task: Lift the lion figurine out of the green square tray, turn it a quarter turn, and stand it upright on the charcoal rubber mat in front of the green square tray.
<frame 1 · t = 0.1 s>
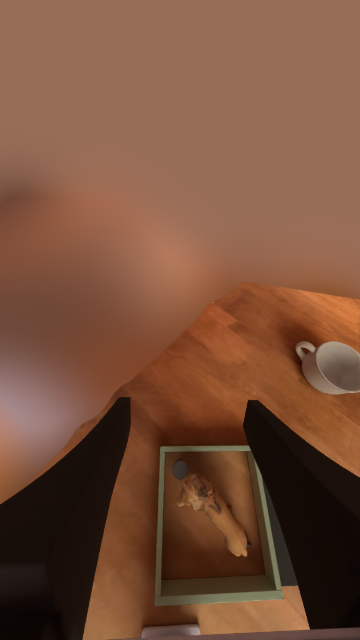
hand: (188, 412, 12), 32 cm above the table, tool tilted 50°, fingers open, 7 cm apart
mat: (290, 503, 34), on the table
green square tray: (209, 505, 33), on the table
teacup: (311, 370, 47), on the table
lion figurine: (209, 505, 33), resting in green square tray
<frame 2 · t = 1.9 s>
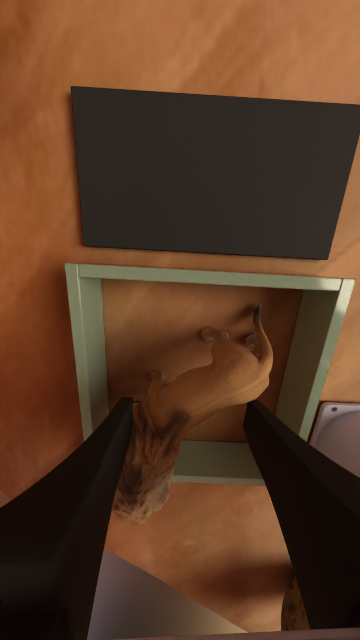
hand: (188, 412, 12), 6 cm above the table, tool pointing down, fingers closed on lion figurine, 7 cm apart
mat: (211, 184, 13), on the table
green square tray: (195, 370, 17), on the table
decorative egg: (303, 574, 26), on the table
lion figurine: (195, 368, 18), resting in green square tray, touching gripper
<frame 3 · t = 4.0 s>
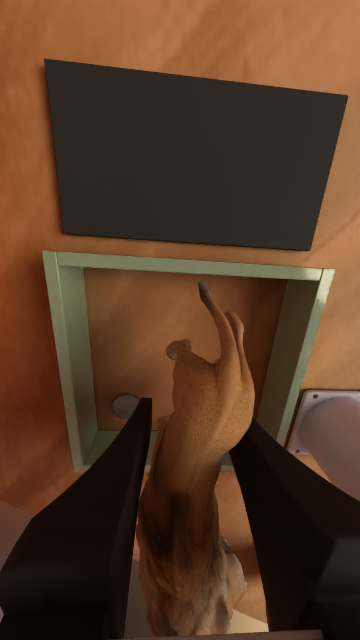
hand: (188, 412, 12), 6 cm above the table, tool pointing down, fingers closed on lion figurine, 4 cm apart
mat: (196, 172, 13), on the table
green square tray: (182, 361, 17), on the table
lion figurine: (196, 389, 14), point 4 cm above the table, touching gripper
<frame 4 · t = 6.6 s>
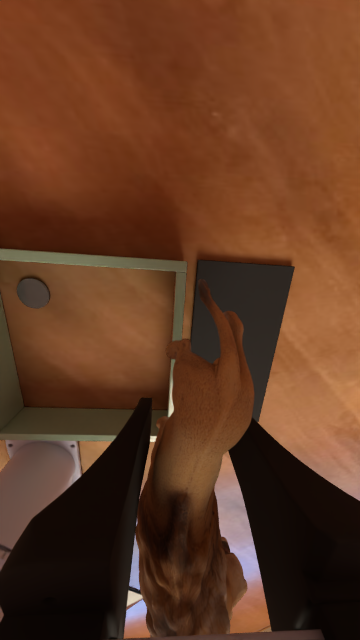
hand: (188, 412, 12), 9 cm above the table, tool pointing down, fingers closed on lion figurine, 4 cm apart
mat: (231, 350, 21), on the table
green square tray: (92, 344, 20), on the table
lion figurine: (195, 389, 14), point 7 cm above the table, touching gripper
when the fingers open (3 cm above the table, at t = 9.3 s): lion figurine stays where it is, resting on mat.
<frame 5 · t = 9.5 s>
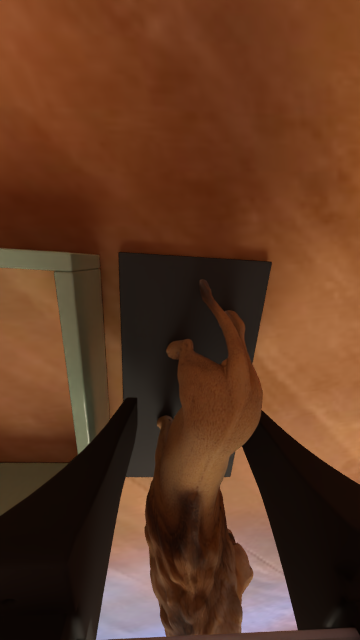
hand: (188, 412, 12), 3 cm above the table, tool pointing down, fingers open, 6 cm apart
mat: (185, 384, 14), on the table
lion figurine: (195, 387, 14), resting on mat
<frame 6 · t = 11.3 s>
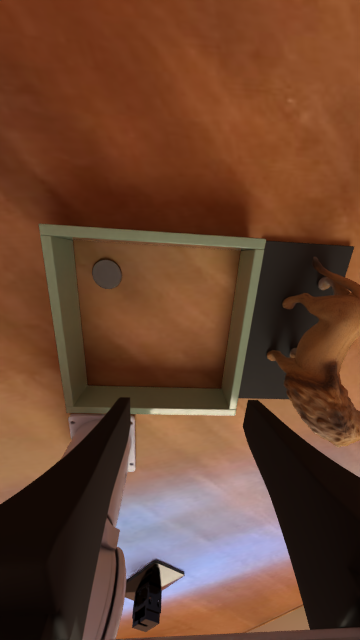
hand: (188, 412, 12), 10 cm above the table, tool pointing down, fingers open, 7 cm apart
mat: (286, 329, 22), on the table
green square tray: (157, 324, 21), on the table
lion figurine: (294, 331, 21), resting on mat
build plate: (149, 579, 36), on the table
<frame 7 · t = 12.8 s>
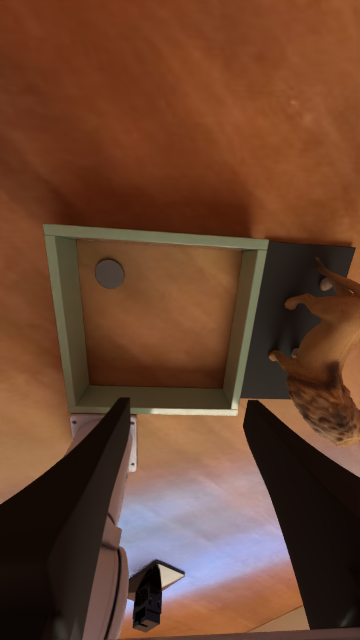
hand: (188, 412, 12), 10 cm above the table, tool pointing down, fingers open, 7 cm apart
mat: (288, 329, 22), on the table
green square tray: (159, 324, 21), on the table
lion figurine: (295, 331, 21), resting on mat
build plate: (149, 580, 36), on the table
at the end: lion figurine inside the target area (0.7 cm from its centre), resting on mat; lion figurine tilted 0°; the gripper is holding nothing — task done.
